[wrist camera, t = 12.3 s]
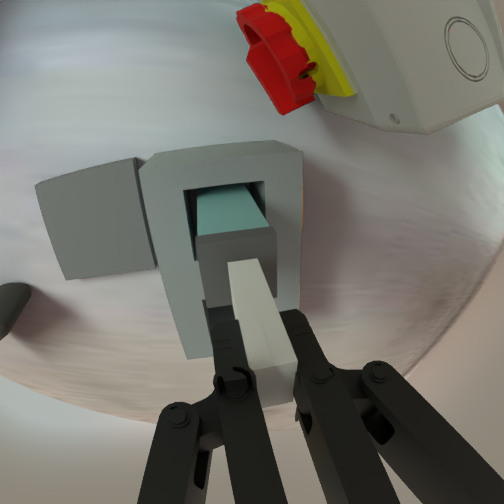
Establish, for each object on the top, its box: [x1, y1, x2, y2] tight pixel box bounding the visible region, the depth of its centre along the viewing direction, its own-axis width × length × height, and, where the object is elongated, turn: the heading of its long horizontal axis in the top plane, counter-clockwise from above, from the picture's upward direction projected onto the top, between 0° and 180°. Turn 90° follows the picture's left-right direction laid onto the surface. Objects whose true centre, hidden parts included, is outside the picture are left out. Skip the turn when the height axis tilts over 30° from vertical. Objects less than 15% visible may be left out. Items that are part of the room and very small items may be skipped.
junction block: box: [138, 140, 304, 360], centre depth 27 cm, size 20×12×8 cm, turn 3°
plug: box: [195, 183, 277, 308], centre depth 21 cm, size 4×4×14 cm
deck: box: [35, 157, 157, 280], centre depth 26 cm, size 12×12×2 cm
